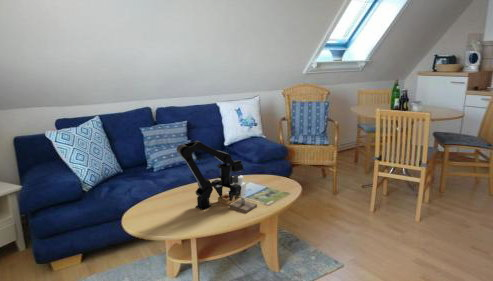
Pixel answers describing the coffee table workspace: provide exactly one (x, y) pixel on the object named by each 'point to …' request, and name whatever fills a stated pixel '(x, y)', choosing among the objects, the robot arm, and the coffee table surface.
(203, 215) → the coffee table surface
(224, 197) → the brown hollow square block
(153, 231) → the coffee table surface
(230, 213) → the coffee table surface
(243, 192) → the medicine bottle
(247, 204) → the keeper plate
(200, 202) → the robot arm
